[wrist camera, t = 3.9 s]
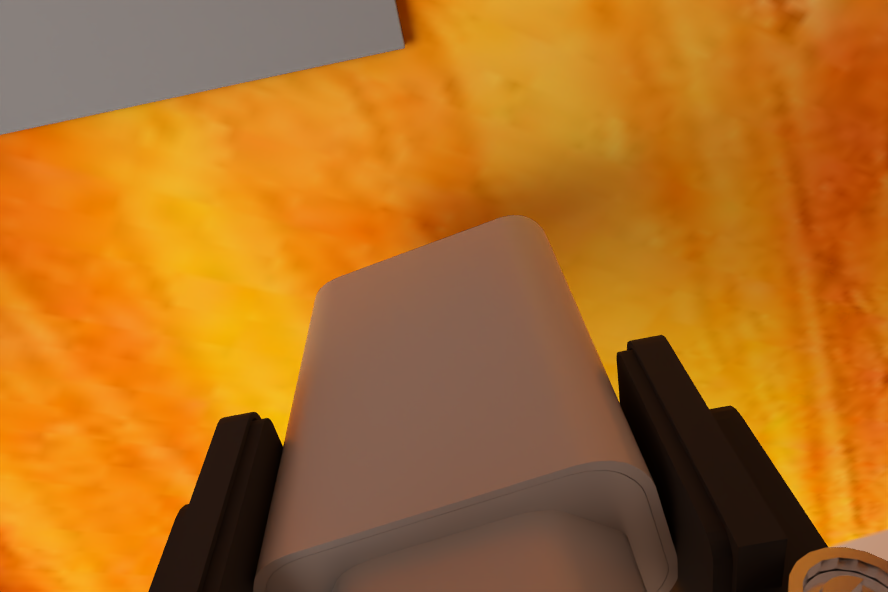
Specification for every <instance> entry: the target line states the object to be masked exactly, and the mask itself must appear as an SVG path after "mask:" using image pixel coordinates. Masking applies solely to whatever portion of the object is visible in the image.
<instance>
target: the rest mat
mask: <svg viewBox="0 0 888 592" xmlns="http://www.w3.org/2000/svg"><path fill="white" fill-rule="evenodd" d="M403 48H405V42H404V38H403V33H402V28H401V24H400V19H399V14H398V9H397V5H396V0H0V135H1V134H6V133H10V132H15V131H20V130H24V129H29V128H34V127H38V126H43V125H48V124H52V123H57V122H62V121H66V120H71V119H76V118H80V117H85V116H90V115H94V114H99V113H104V112H108V111H113V110H118V109H122V108H127V107H132V106H136V105H141V104H146V103H150V102H155V101H160V100H164V99H169V98H174V97H179V96H183V95H188V94H193V93H197V92H202V91H207V90H211V89H216V88H221V87H225V86H230V85H235V84H239V83H244V82H249V81H253V80H258V79H263V78H267V77H272V76H277V75H281V74H286V73H291V72H295V71H300V70H305V69H309V68H314V67H319V66H323V65H328V64H333V63H337V62H342V61H347V60H351V59H356V58H361V57H365V56H370V55H375V54H379V53H384V52H389V51H393V50H398V49H403Z"/></svg>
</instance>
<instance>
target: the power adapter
mask: <svg viewBox="0 0 888 592" xmlns="http://www.w3.org/2000/svg"><path fill="white" fill-rule="evenodd" d="M677 579H678V561H677V555H676V551H675V548H674V545H673V542H672V538H671V535H670V532H669V528H668V525H667V522H666V518H665V515H664V512H663V509H662V505H661V502H660V499H659V495H658V492H657V489H656V486H655V484H654V481H653V479H652V477H651V474H650V472H649V470H648V467H647V465H646V463H645V461H644V458H643V456H642V454H641V451H640V449H639V447H638V445H637V442H636V440H635V438H634V435H633V433H632V431H631V429H630V426H629V424H628V422H627V419H626V417H625V415H624V413H623V410H622V408H621V406H620V403H619V401H618V399H617V396H616V394H615V392H614V390H613V387H612V385H611V383H610V380H609V378H608V376H607V374H606V371H605V369H604V367H603V364H602V362H601V360H600V358H599V355H598V353H597V351H596V348H595V346H594V344H593V341H592V339H591V337H590V335H589V332H588V330H587V328H586V325H585V323H584V321H583V319H582V316H581V314H580V312H579V309H578V307H577V305H576V303H575V300H574V298H573V296H572V293H571V291H570V289H569V287H568V284H567V282H566V280H565V277H564V275H563V273H562V270H561V268H560V266H559V264H558V261H557V259H556V257H555V254H554V252H553V250H552V248H551V245H550V243H549V241H548V238H547V236H546V234H545V232H544V230H543V229H542V228H541V227H540V225H539V224H538V223H536V222H535V221H533V220H532V219H530V218H528V217H525V216H521V215H511V216H505V217H501V218H498V219H495V220H492V221H489V222H487V223H484V224H481V225H479V226H476V227H473V228H471V229H468V230H465V231H462V232H460V233H457V234H454V235H452V236H449V237H446V238H443V239H441V240H438V241H435V242H433V243H430V244H427V245H425V246H422V247H419V248H416V249H414V250H411V251H408V252H406V253H403V254H400V255H398V256H395V257H392V258H389V259H387V260H384V261H381V262H379V263H376V264H373V265H371V266H368V267H365V268H362V269H360V270H357V271H354V272H352V273H349V274H346V275H343V276H341V277H338V278H336V279H334V280H332V281H330V282H328V283H326V284H325V285H324V286H323V287H322V288H321V289H320V290H319V292H318V293H317V295H316V299H315V303H314V308H313V312H312V317H311V322H310V326H309V331H308V335H307V340H306V345H305V349H304V354H303V358H302V363H301V368H300V372H299V377H298V381H297V386H296V391H295V395H294V400H293V404H292V409H291V414H290V418H289V423H288V427H287V432H286V437H285V441H284V446H283V450H282V455H281V460H280V464H279V469H278V473H277V478H276V483H275V487H274V492H273V496H272V501H271V506H270V510H269V515H268V520H267V524H266V529H265V533H264V538H263V543H262V547H261V552H260V556H259V561H258V566H257V570H256V575H255V579H254V586H253V592H669V591H670V590H671V589H672V588H673V586H674V584H675V582H676V581H677Z"/></svg>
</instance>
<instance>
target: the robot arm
mask: <svg viewBox="0 0 888 592" xmlns="http://www.w3.org/2000/svg"><path fill="white" fill-rule="evenodd" d="M617 370H618V383H619V397H620V406H621V408H622V410H623V413H624V415H625V417H626V419H627V422H628V424H629V426H630V429H631V431H632V433H633V435H634V438H635V440H636V442H637V445H638V447H639V449H640V451H641V454H642V456H643V458H644V461H645V463H646V465H647V467H648V470H649V472H650V474H651V477H652V479H653V481H654V484H655V486H656V489H657V492H658V495H659V499H660V502H661V505H662V509H663V512H664V515H665V518H666V522H667V525H668V528H669V532H670V535H671V538H672V542H673V545H674V548H675V551H676V555H677V561H678V579H677V581H676V582H675V584H674V586H673V588H672V589H671V590H670V591H669V592H888V561H886V560H884V559H882V558H879V557H877V556H875V555H872V554H870V553H868V552H865V551H860V550H855V549H851V548H846V547H830V548H828V546H827V545H826V543H825V542H824V540H823V539H822V537H821V536H820V534H819V533H818V531H817V530H816V528H815V526H814V525H813V523H812V522H811V520H810V519H809V517H808V516H807V514H806V513H805V511H804V510H803V508H802V507H801V505H800V504H799V502H798V501H797V499H796V498H795V496H794V495H793V493H792V492H791V490H790V489H789V487H788V486H787V484H786V483H785V481H784V480H783V478H782V477H781V475H780V474H779V472H778V470H777V469H776V467H775V466H774V464H773V463H772V461H771V460H770V458H769V457H768V455H767V454H766V452H765V451H764V449H763V448H762V446H761V445H760V443H759V442H758V440H757V439H756V437H755V436H754V434H753V433H752V431H751V430H750V428H749V427H748V425H747V424H746V422H745V421H744V419H743V418H742V416H741V415H740V414H739V412H738V411H737V410H736V409H735V408H734V407H732V406H725V407H720V408H714V409H709V408H708V407H707V405H706V403H705V402H704V400H703V398H702V397H701V395H700V394H699V392H698V390H697V389H696V387H695V385H694V384H693V382H692V380H691V379H690V377H689V375H688V374H687V372H686V370H685V369H684V367H683V365H682V364H681V362H680V360H679V359H678V357H677V356H676V354H675V352H674V351H673V349H672V347H671V346H670V344H669V342H668V341H667V339H666V338H665V337H664V336H663V335H659V336H653V337H648V338H643V339H638V340H632V341H629V342H628V344H627V351H622V352H618V353H617ZM282 450H283V446H282V444H281V441H280V439H279V437H278V435H277V432H276V430H275V428H274V425H273V423H272V422H271V420H270V419H269V418H265V419H261V418H260V416H259V415H258V414H257V413H256V412H250V413H245V414H240V415H234V416H229V417H224V418H222V419H220V420H219V422H218V424H217V427H216V430H215V433H214V435H213V438H212V441H211V444H210V447H209V449H208V452H207V455H206V458H205V461H204V464H203V466H202V469H201V472H200V475H199V478H198V480H197V483H196V486H195V489H194V492H193V495H192V497H191V500H190V503H189V504H187V505H185V506H183V507H182V508H181V509H180V511H179V513H178V515H177V516H176V518H175V521H174V524H173V527H172V529H171V532H170V535H169V537H168V540H167V543H166V546H165V548H164V551H163V554H162V556H161V559H160V562H159V565H158V567H157V570H156V573H155V575H154V578H153V581H152V584H151V586H150V589H149V592H253V586H254V579H255V575H256V570H257V566H258V561H259V556H260V552H261V547H262V543H263V538H264V533H265V529H266V524H267V520H268V515H269V510H270V506H271V501H272V496H273V492H274V487H275V483H276V478H277V473H278V469H279V464H280V460H281V455H282Z"/></svg>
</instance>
